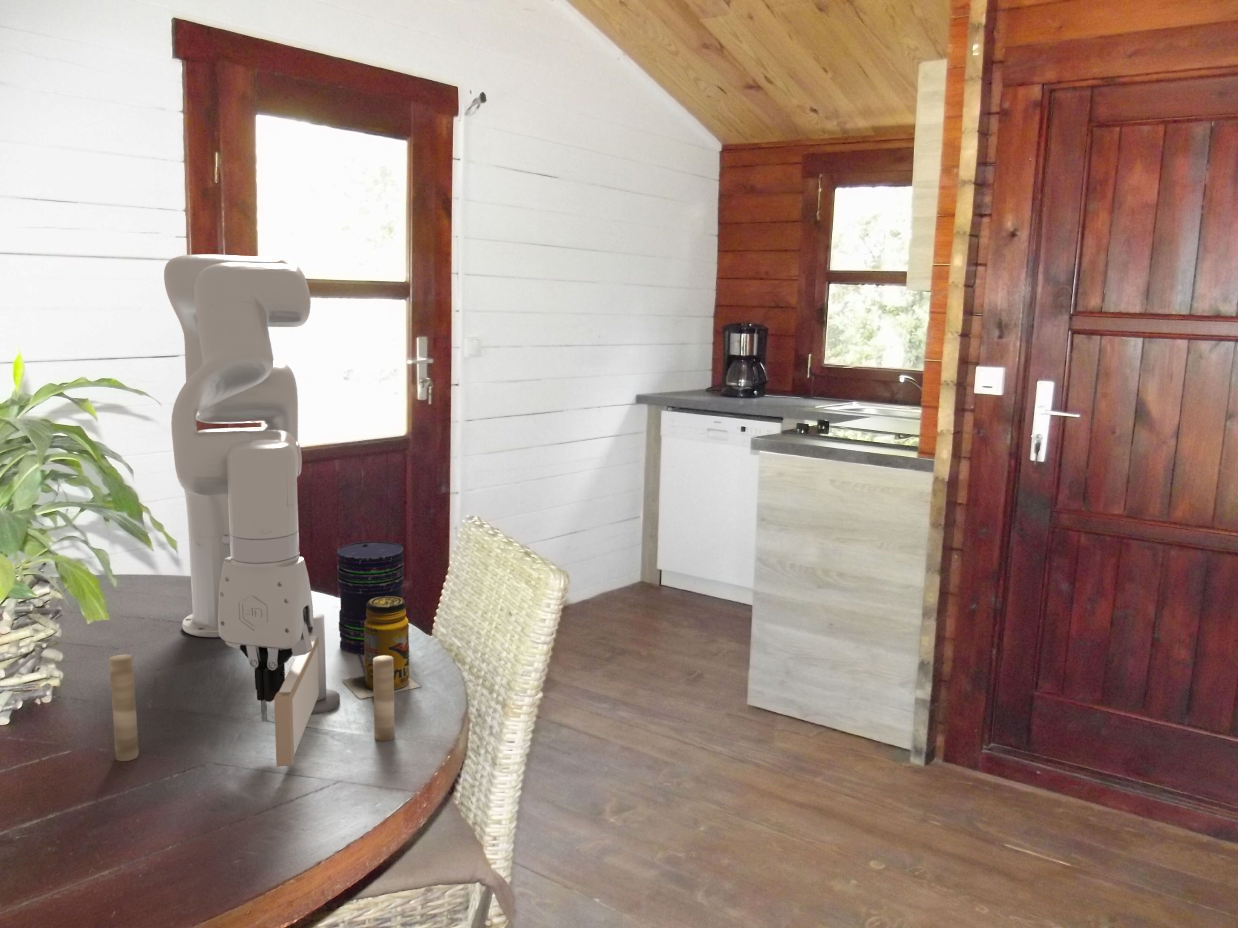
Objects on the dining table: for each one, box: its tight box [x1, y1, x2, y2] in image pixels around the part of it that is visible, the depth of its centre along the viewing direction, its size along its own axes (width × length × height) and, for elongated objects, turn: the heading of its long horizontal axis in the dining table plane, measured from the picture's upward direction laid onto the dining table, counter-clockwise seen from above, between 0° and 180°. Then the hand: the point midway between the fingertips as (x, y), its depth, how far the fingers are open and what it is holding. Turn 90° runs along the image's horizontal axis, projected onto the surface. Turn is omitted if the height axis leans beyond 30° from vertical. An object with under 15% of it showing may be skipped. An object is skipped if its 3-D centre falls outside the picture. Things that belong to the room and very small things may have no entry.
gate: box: [273, 612, 327, 768], centre depth 124 cm, size 23×3×11 cm, turn 7°
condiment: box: [342, 596, 420, 700], centre depth 141 cm, size 7×8×12 cm
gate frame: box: [109, 653, 395, 762], centre depth 122 cm, size 18×28×12 cm, turn 132°
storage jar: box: [337, 541, 405, 656], centre depth 156 cm, size 10×10×15 cm
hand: (270, 696), depth 122 cm, fingers closed
